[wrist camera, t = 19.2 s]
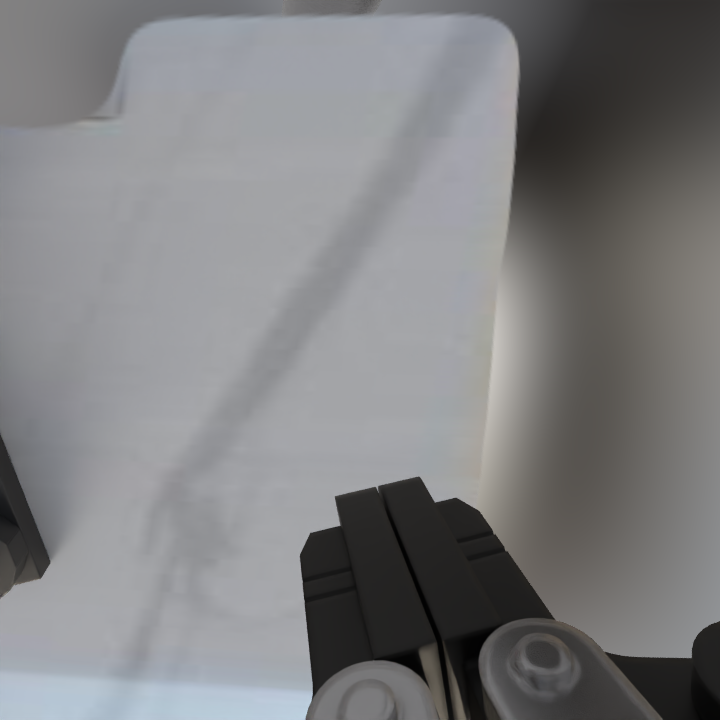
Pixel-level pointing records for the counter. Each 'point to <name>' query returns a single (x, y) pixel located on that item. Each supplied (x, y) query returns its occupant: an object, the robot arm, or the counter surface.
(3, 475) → the scale
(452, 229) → the counter surface
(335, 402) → the counter surface
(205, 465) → the counter surface
